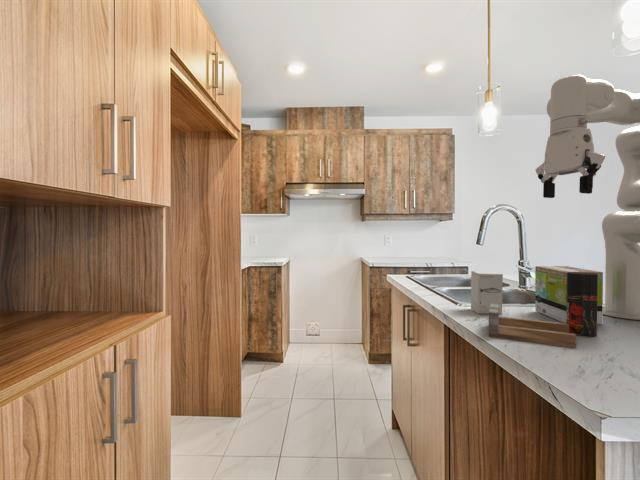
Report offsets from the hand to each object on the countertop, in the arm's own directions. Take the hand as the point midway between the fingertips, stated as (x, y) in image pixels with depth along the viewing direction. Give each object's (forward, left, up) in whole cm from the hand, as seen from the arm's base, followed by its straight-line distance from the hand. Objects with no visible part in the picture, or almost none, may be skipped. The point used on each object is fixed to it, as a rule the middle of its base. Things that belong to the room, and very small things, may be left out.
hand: (566, 195), depth 85 cm
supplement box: (-13, -19, -35) cm, 41 cm away
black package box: (+1, +3, -35) cm, 35 cm away
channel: (+9, -8, -35) cm, 37 cm away
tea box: (-16, +2, -35) cm, 38 cm away
